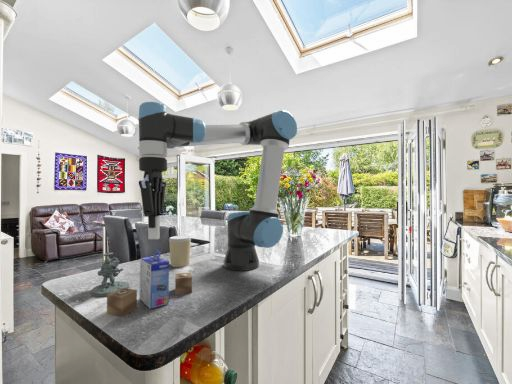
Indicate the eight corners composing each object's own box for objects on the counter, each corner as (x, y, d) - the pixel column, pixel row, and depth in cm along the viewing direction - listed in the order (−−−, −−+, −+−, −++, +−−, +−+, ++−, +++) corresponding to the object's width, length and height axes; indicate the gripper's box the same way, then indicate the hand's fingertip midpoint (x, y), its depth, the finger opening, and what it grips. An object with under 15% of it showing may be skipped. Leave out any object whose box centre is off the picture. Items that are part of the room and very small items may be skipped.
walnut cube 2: (191, 287, 84) (191, 271, 84) (192, 292, 79) (191, 276, 79) (175, 289, 83) (175, 273, 83) (175, 295, 78) (175, 278, 78)
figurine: (87, 299, 75) (87, 259, 75) (94, 287, 85) (94, 251, 85) (127, 293, 79) (127, 255, 79) (129, 282, 89) (129, 248, 89)
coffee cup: (190, 260, 116) (189, 234, 116) (192, 266, 108) (192, 238, 108) (168, 262, 113) (168, 236, 113) (169, 268, 104) (169, 239, 104)
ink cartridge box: (170, 304, 71) (170, 253, 71) (150, 310, 68) (149, 256, 68) (157, 293, 79) (157, 247, 79) (138, 298, 75) (138, 250, 75)
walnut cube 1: (136, 308, 69) (136, 288, 69) (122, 316, 64) (122, 295, 64) (122, 305, 71) (122, 286, 71) (107, 314, 66) (106, 293, 66)
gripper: (150, 160, 80) (151, 234, 80) (128, 154, 67) (129, 243, 67) (174, 160, 80) (174, 234, 80) (156, 154, 67) (157, 243, 67)
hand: (154, 238), depth 73 cm, fingers closed
